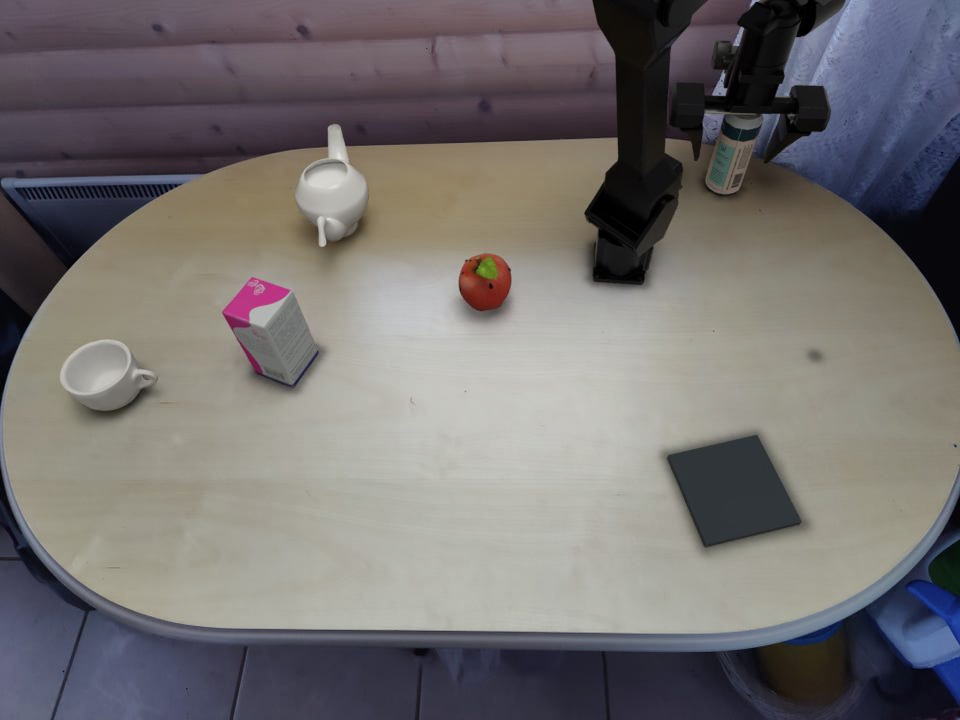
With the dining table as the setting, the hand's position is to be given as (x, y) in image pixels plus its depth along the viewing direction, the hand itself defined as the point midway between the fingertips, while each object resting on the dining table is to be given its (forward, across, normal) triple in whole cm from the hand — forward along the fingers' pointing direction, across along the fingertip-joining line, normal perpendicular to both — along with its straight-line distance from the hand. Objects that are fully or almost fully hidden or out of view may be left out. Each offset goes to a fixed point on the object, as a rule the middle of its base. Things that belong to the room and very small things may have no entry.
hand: (730, 160), depth 92 cm
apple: (+4, +30, +24) cm, 39 cm away
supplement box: (+4, +53, +35) cm, 64 cm away
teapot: (+4, +52, +12) cm, 54 cm away
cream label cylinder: (+4, 0, 0) cm, 4 cm away
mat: (+4, +2, +46) cm, 46 cm away
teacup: (+3, +71, +41) cm, 82 cm away
